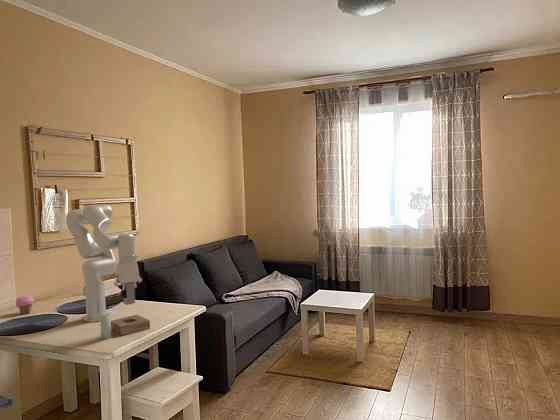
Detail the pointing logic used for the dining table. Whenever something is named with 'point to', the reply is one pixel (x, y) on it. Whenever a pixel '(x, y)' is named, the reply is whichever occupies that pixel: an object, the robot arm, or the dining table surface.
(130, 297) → the square peg
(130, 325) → the socket block
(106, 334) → the round peg
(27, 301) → the cupcake
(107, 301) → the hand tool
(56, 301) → the dining table surface
